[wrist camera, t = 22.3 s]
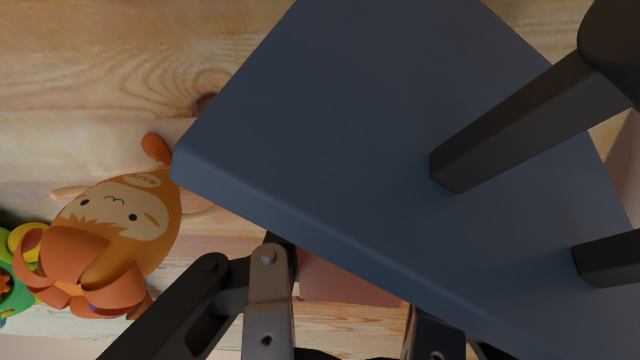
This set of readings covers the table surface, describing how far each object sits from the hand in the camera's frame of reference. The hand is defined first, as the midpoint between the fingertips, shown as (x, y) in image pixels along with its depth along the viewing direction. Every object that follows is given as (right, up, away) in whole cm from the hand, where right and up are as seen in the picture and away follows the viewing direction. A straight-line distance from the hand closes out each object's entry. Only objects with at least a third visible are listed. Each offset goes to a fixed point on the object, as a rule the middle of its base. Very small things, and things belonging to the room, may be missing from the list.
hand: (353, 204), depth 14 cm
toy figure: (-16, +3, +17) cm, 23 cm away
